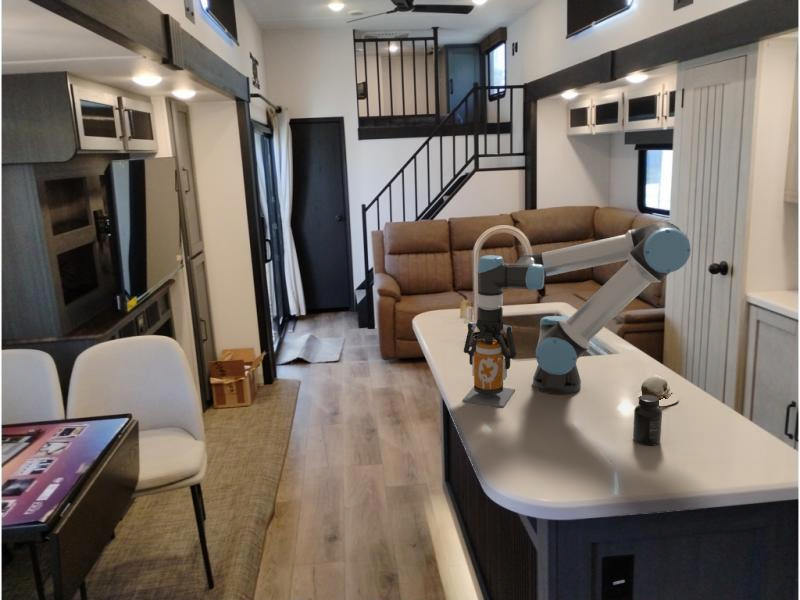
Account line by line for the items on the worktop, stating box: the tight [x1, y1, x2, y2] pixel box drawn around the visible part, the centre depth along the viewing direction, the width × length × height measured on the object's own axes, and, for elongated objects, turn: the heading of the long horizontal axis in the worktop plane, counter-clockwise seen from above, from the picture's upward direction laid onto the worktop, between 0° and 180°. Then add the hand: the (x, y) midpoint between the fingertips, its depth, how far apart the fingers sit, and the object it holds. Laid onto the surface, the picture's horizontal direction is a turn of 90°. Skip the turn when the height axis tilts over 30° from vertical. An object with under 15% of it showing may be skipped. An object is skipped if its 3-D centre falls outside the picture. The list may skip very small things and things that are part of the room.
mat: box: [462, 386, 516, 408], centre depth 198 cm, size 13×14×1 cm
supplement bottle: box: [632, 395, 663, 446], centre depth 165 cm, size 7×7×12 cm
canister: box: [473, 331, 504, 395], centre depth 195 cm, size 9×11×20 cm
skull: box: [640, 374, 672, 400], centre depth 192 cm, size 12×10×10 cm
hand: (489, 376), depth 196 cm, fingers closed on canister, 9 cm apart
